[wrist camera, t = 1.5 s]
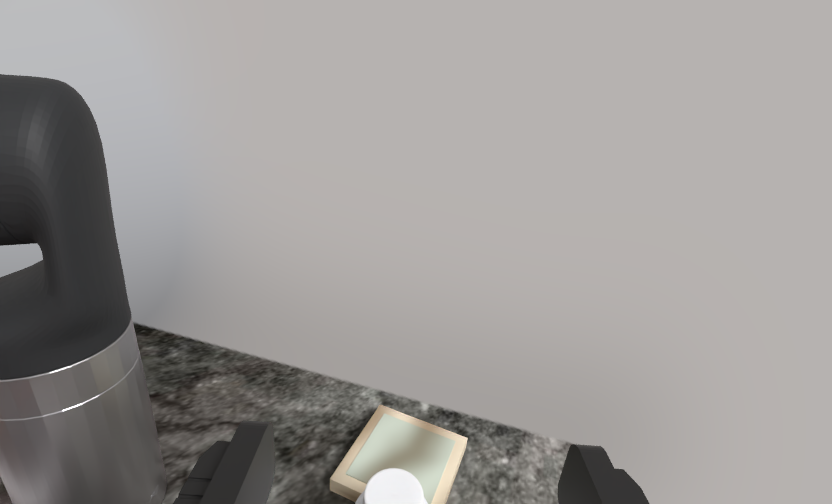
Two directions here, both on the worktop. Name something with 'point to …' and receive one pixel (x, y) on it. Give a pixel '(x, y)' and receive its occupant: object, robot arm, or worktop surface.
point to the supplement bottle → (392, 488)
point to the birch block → (401, 455)
